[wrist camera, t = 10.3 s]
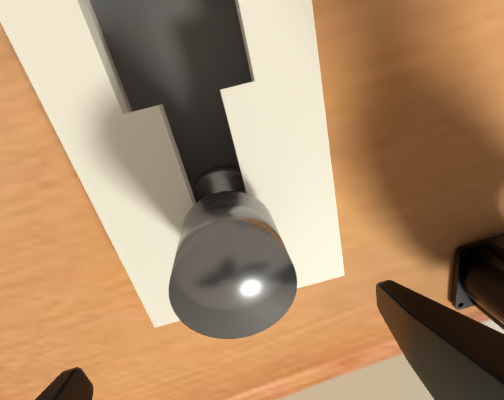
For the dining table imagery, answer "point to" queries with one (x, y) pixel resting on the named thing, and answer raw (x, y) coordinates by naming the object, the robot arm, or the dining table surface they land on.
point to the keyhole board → (185, 119)
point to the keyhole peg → (230, 261)
